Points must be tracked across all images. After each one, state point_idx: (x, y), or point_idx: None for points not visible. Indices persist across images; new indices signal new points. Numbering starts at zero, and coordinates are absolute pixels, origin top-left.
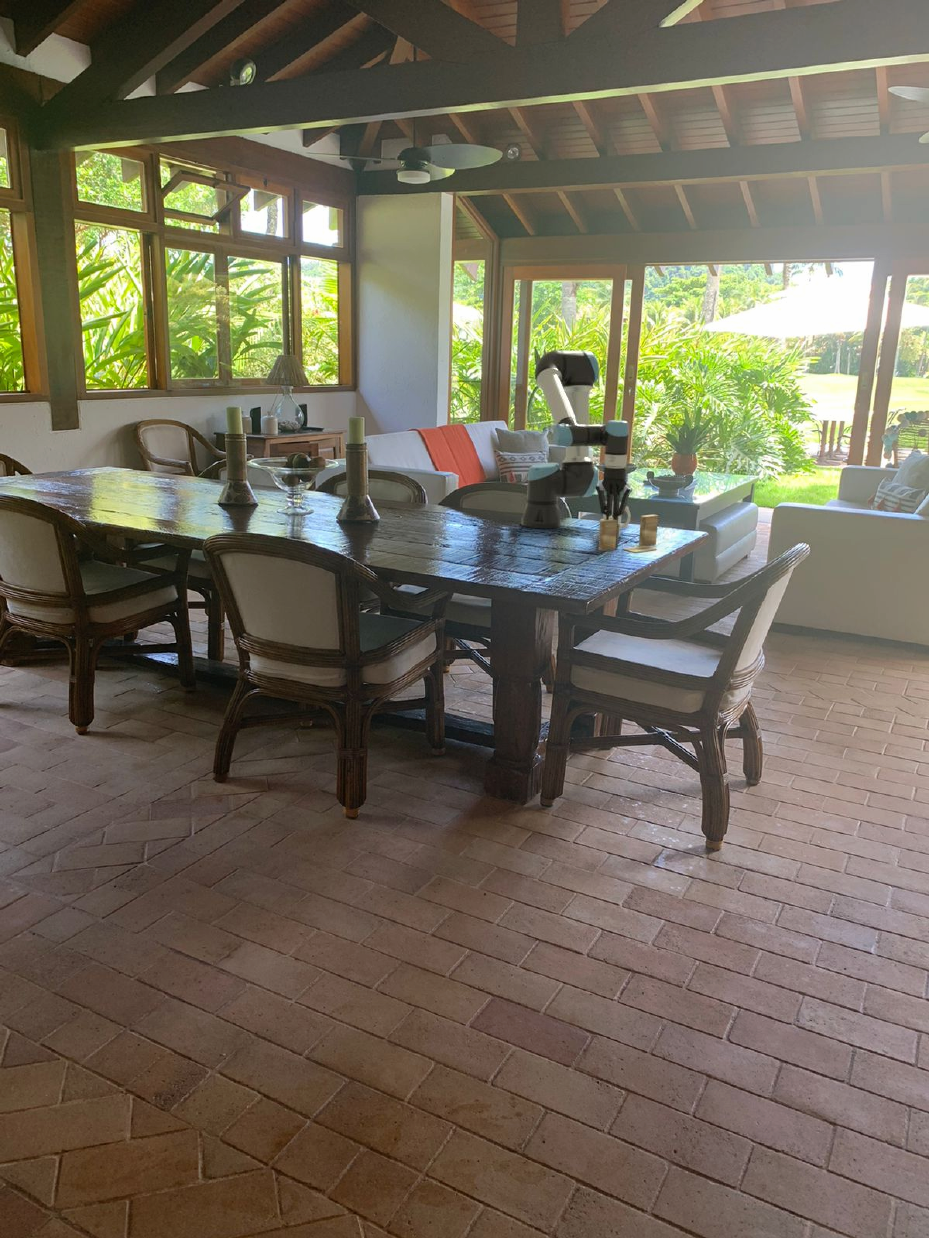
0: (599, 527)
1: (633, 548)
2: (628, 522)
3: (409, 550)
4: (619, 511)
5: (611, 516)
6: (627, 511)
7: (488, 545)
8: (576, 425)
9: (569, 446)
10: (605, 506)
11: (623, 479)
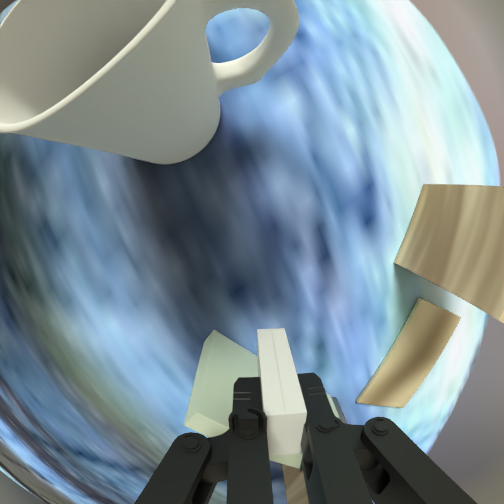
0: (193, 388)
1: (394, 375)
2: (279, 57)
3: (52, 495)
4: (368, 479)
5: (279, 441)
6: (274, 8)
7: (58, 468)
8: None
9: None
10: (189, 494)
11: None
